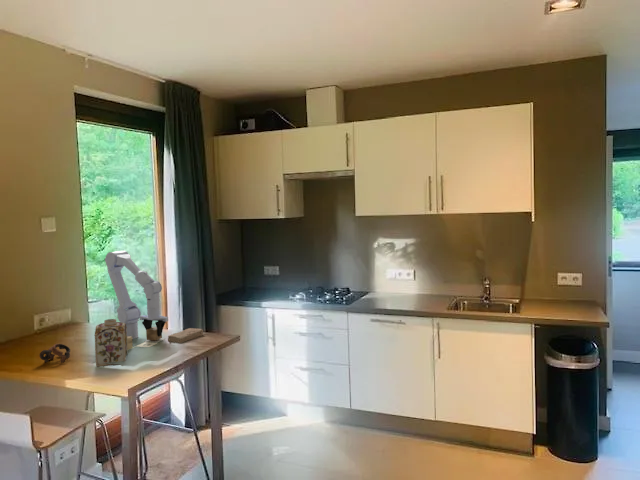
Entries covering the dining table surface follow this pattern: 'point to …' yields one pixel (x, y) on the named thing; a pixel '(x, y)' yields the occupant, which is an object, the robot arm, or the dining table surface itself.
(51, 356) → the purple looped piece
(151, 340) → the pad
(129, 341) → the oak block
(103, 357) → the decorative jar
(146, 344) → the board
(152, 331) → the walnut block
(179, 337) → the brick
